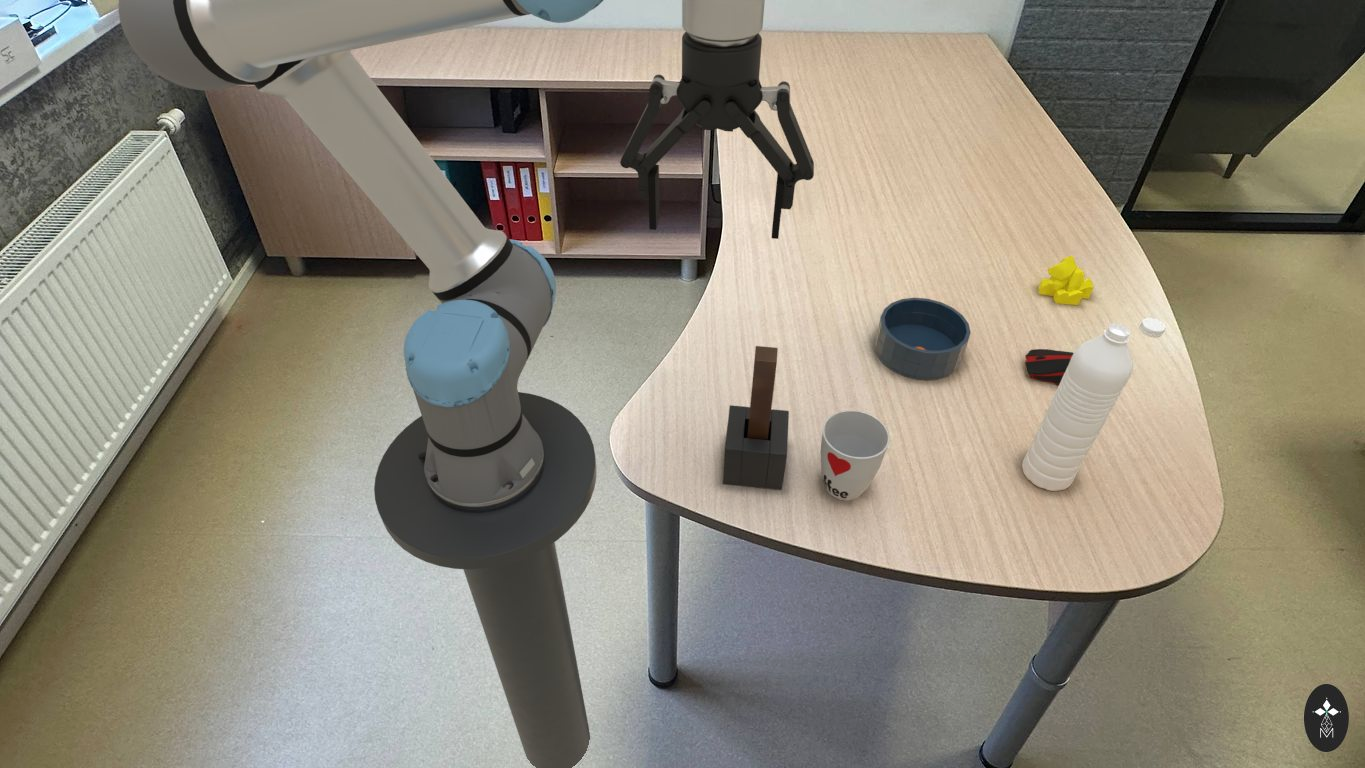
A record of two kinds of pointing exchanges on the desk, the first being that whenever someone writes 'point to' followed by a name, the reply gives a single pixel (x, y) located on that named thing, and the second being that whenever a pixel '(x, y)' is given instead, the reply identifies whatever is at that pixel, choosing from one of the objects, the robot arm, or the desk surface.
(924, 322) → the bowl
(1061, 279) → the crumpled paper
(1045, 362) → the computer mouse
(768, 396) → the stick
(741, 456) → the holder
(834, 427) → the cup
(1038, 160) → the desk surface
